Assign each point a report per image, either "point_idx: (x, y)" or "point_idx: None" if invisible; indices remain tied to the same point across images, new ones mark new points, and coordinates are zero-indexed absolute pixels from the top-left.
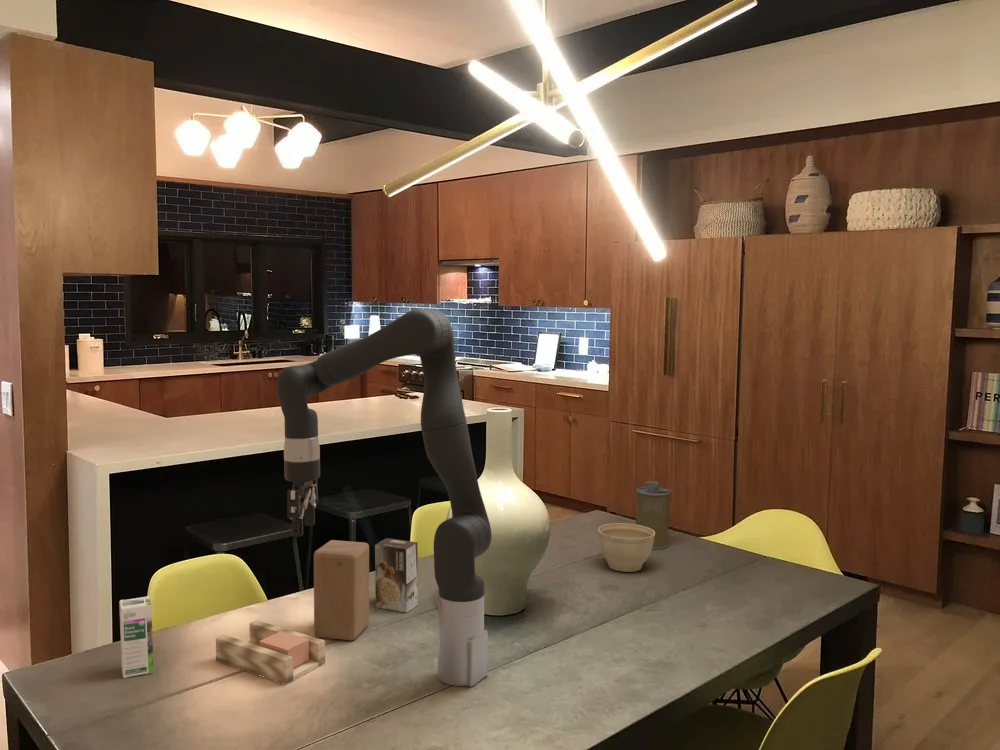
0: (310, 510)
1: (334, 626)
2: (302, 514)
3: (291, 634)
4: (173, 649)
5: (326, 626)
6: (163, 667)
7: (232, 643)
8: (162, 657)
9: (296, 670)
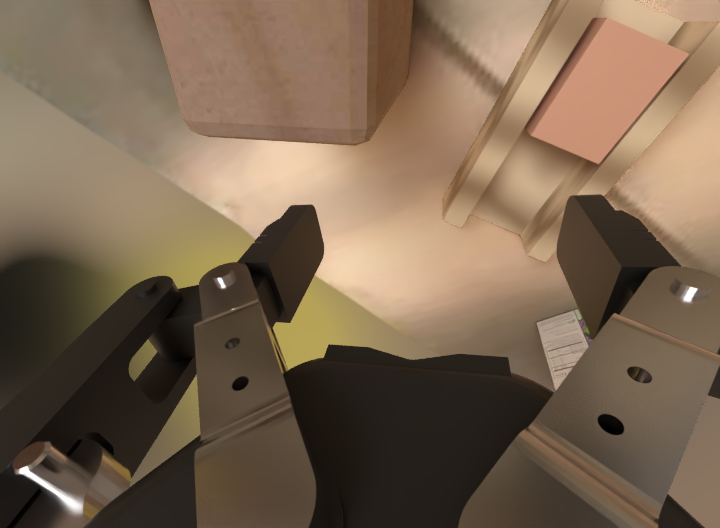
0: (278, 279)
1: (410, 16)
2: (682, 299)
3: (559, 94)
4: (484, 310)
5: (408, 45)
6: (557, 301)
7: None
8: (516, 314)
9: (645, 28)
